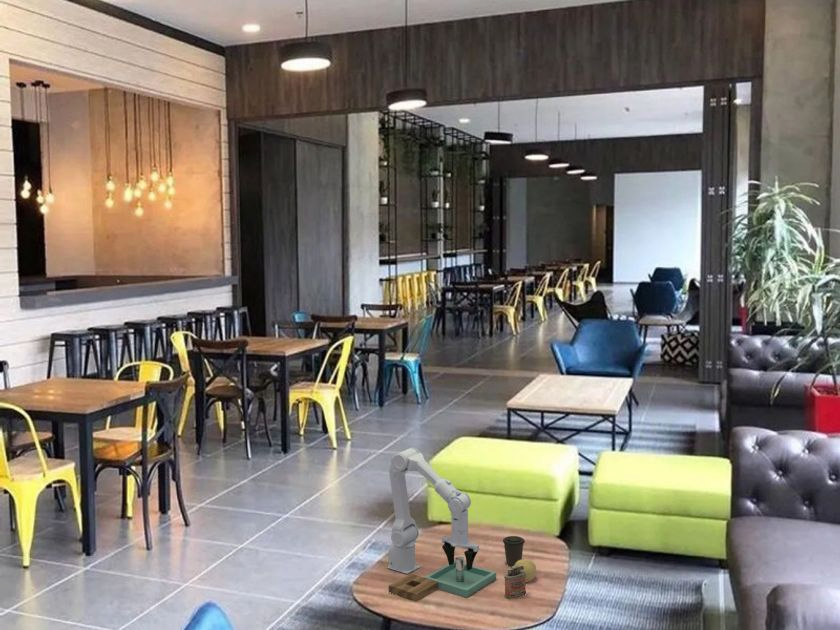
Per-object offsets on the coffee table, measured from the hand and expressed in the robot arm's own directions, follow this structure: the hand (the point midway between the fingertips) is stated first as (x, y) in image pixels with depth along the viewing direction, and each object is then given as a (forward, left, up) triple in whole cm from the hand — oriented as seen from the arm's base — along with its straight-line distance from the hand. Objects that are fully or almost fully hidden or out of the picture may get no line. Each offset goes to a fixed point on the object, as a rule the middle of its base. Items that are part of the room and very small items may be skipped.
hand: (460, 566), depth 285 cm
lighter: (+21, +2, -6) cm, 22 cm away
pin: (0, 0, -5) cm, 5 cm away
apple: (+17, +15, -6) cm, 23 cm away
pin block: (-9, -15, -6) cm, 18 cm away
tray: (0, 0, -6) cm, 6 cm away
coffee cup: (+7, +24, -6) cm, 26 cm away
